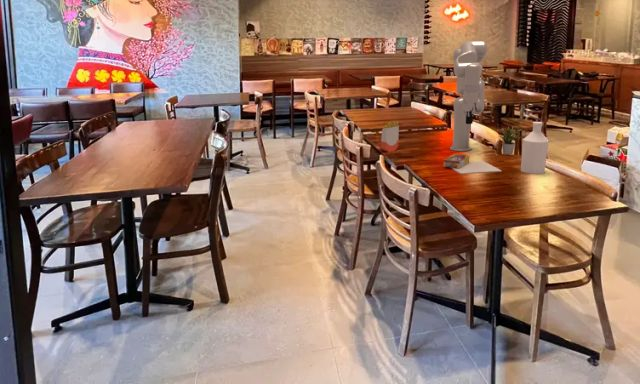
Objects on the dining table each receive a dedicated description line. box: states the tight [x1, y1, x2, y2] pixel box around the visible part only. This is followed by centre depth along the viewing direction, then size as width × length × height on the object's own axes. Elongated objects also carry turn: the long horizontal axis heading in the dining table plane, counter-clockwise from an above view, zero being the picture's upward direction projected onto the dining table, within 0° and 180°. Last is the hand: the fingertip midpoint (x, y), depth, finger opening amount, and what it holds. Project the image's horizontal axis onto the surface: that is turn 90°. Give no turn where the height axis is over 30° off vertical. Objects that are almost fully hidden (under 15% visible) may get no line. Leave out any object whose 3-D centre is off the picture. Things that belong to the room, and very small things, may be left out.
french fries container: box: [380, 121, 400, 153], centre depth 310 cm, size 5×11×18 cm, turn 130°
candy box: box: [443, 153, 470, 169], centre depth 274 cm, size 9×4×15 cm
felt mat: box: [449, 160, 502, 175], centre depth 270 cm, size 20×22×1 cm
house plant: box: [499, 126, 522, 155], centre depth 296 cm, size 14×14×16 cm
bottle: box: [520, 121, 549, 175], centre depth 259 cm, size 12×12×25 cm
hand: (469, 123), depth 272 cm, fingers closed
